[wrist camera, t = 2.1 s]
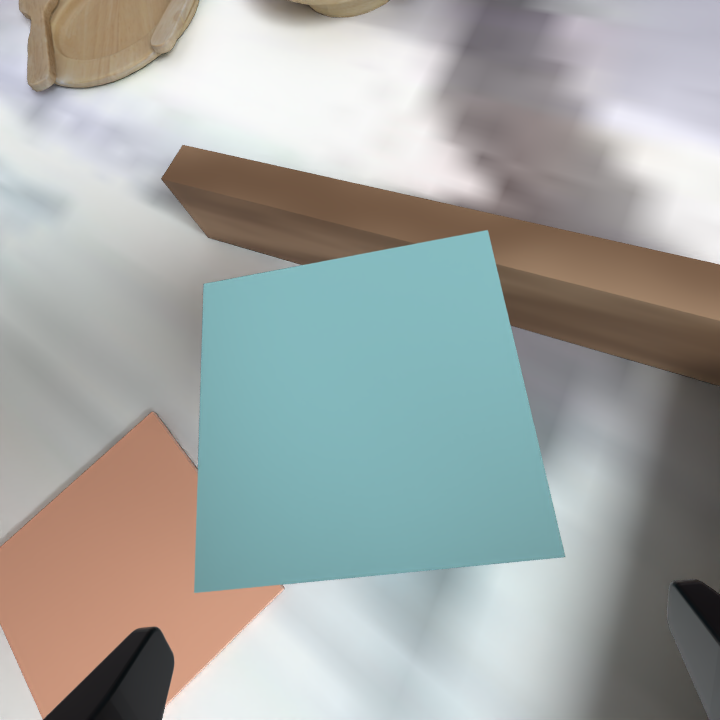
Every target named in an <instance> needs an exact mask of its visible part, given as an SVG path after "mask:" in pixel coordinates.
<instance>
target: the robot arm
mask: <svg viewBox="0 0 720 720" xmlns="http://www.w3.org/2000/svg"><path fill="white" fill-rule="evenodd" d="M667 621H668V625H669V628H670V631H671V633H672V636H673V638H674V640H675V643H676V645H677V647H678V649H679V652H680V654H681V656H682V659H683V661H684V663H685V666H686V668H687V670H688V672H689V675H690V677H691V679H692V682H693V684H694V686H695V689H696V691H697V693H698V695H699V698H700V700H701V702H702V705H703V707H704V709H705V712H706V714H707V716H708V718H709V720H720V594H719V593H717V592H716V591H714V590H713V589H712V588H710V587H709V586H707V585H706V584H705V583H703V582H701V581H699V580H696V579H690V580H678V581H673V582H671V583H670V585H669V593H668V606H667ZM174 663H175V662H174V654H173V652H172V650H171V648H170V646H169V644H168V642H167V640H166V639H165V637H164V635H163V633H162V631H161V630H160V629H159V628H158V627H142V628H138V629H135V630H134V631H133V632H131V633H130V634H129V635H128V636H127V637H126V638H125V639H124V640H123V641H122V642H121V643H120V644H119V645H118V646H117V647H116V648H115V649H114V650H113V651H112V652H111V653H110V654H109V655H108V656H107V657H106V658H105V659H104V660H103V661H102V662H101V663H100V664H99V665H98V666H97V667H96V668H95V669H94V670H93V671H92V672H91V673H90V674H89V675H88V676H87V677H86V678H85V679H84V680H83V681H82V682H81V683H79V684H78V685H77V686H76V687H75V688H74V689H73V690H72V691H71V692H70V693H69V694H68V695H67V696H66V697H65V698H64V699H63V700H62V701H61V702H60V703H59V704H58V705H57V706H56V707H55V708H54V709H53V710H52V711H51V712H50V713H49V714H48V715H47V716H46V717H45V718H44V719H43V720H162V718H163V713H164V709H165V705H166V701H167V696H168V692H169V688H170V683H171V679H172V675H173V671H174Z"/></svg>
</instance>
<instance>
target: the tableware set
mask: <svg viewBox="0 0 720 720" xmlns="http://www.w3.org/2000/svg"><path fill="white" fill-rule="evenodd" d="M288 1H292V2H297V3H301V4H308V5H309V6H310V7H311V8H312V9H313V10H314V11H316V12H318V13H320V14H322V15H326V16H329V17H352V16H357V15H361V14H365V13H368V12H370V11H372V10H375V9H377V8H378V7H380V6H382V5H384V4H386V3H387V2H388V1H389V0H288ZM198 3H199V0H19V10H20V11H21V12H22V13H23V15H24V16H25V17H26V18H28V19H30V20H31V29H30V34H29V38H28V63H27V80H28V84H29V85H30V87H31V88H32V89H33V90H35V91H37V92H38V91H43V90H45V89H48V88H49V87H50V86H52V85H53V84H57V85H60V86H65V87H73V88H86V87H93V86H98V85H103V84H106V83H110V82H114V81H116V80H119V79H121V78H124V77H126V76H128V75H130V74H131V73H133V72H135V71H137V70H139V69H141V68H143V67H144V66H145V65H147V64H148V63H150V62H151V61H153V60H154V59H155V58H157V57H158V56H160V55H161V54H163V53H167V52H169V51H170V50H171V49H172V48H173V47H174V45H175V43H176V41H177V39H178V38H179V37H180V36H181V35H182V33H183V32H184V31H185V29H186V28H187V27H188V25H189V23H190V22H191V20H192V18H193V17H194V15H195V12H196V10H197V6H198Z"/></svg>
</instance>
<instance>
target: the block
mask: <svg viewBox="0 0 720 720" xmlns="http://www.w3.org/2000/svg"><path fill="white" fill-rule="evenodd" d="M561 557H565V554H564V549H563V545H562V541H561V537H560V532H559V528H558V524H557V520H556V516H555V511H554V507H553V503H552V499H551V494H550V490H549V486H548V482H547V478H546V473H545V469H544V465H543V461H542V457H541V452H540V448H539V444H538V440H537V435H536V431H535V427H534V423H533V419H532V414H531V410H530V406H529V402H528V397H527V393H526V389H525V385H524V381H523V376H522V372H521V368H520V364H519V360H518V355H517V351H516V347H515V343H514V338H513V334H512V330H511V326H510V322H509V317H508V313H507V309H506V305H505V300H504V296H503V292H502V288H501V284H500V279H499V275H498V271H497V267H496V263H495V258H494V254H493V250H492V246H491V241H490V237H489V233H488V230H485V231H480V232H475V233H470V234H464V235H459V236H454V237H449V238H443V239H438V240H433V241H427V242H422V243H417V244H412V245H406V246H401V247H396V248H391V249H385V250H380V251H375V252H369V253H364V254H359V255H354V256H348V257H343V258H338V259H332V260H327V261H322V262H317V263H311V264H306V265H301V266H296V267H290V268H285V269H280V270H274V271H269V272H264V273H259V274H253V275H248V276H243V277H238V278H232V279H227V280H222V281H216V282H211V283H206V284H204V289H203V321H202V353H201V386H200V418H199V451H198V483H197V515H196V548H195V580H194V593H200V592H211V591H221V590H231V589H241V588H252V587H262V586H272V585H283V584H293V583H303V582H314V581H324V580H334V579H344V578H355V577H365V576H375V575H386V574H396V573H406V572H416V571H427V570H437V569H447V568H458V567H468V566H478V565H489V564H499V563H509V562H519V561H530V560H540V559H550V558H561Z"/></svg>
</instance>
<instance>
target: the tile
mask: <svg viewBox="0 0 720 720" xmlns="http://www.w3.org/2000/svg"><path fill="white" fill-rule="evenodd" d="M197 483H198V470H197V468H196V467H195V466H194V464H193V463H192V462H191V460H190V459H189V457H188V456H187V455H186V453H185V452H184V451H183V449H182V448H181V447H180V445H179V444H178V443H177V441H176V440H175V438H174V437H173V436H172V434H171V433H170V432H169V430H168V429H167V428H166V426H165V425H164V423H163V422H162V421H161V419H160V418H159V417H158V415H157V414H156V413H155V412H151V413H150V414H149V415H148V416H146V417H145V418H144V419H143V420H142V421H141V422H140V423H139V424H138V425H136V426H135V427H134V428H133V429H132V430H131V431H130V432H129V433H127V434H126V435H125V436H124V437H123V438H122V439H121V440H120V441H118V442H117V443H116V444H115V445H114V446H113V447H112V448H111V449H110V450H108V451H107V452H106V453H105V454H104V455H103V456H102V457H101V458H99V459H98V460H97V461H96V462H95V463H94V464H93V465H92V466H90V467H89V468H88V469H87V470H86V471H85V472H84V473H83V474H82V475H80V476H79V477H78V478H77V479H76V480H75V481H74V482H73V483H71V484H70V485H69V486H68V487H67V488H66V489H65V490H64V491H62V492H61V493H60V494H59V495H58V496H57V497H56V498H55V499H54V500H52V501H51V502H50V503H49V504H48V505H47V506H46V507H45V508H43V509H42V510H41V511H40V512H39V513H38V514H37V515H36V516H34V517H33V518H32V519H31V520H30V521H29V522H28V523H27V524H26V525H24V526H23V527H22V528H21V529H20V530H19V531H18V532H17V533H15V534H14V535H13V536H12V537H11V538H10V539H9V540H8V541H6V542H5V543H4V544H3V545H2V546H1V547H0V624H1V627H2V629H3V631H4V633H5V636H6V638H7V640H8V642H9V645H10V647H11V649H12V651H13V654H14V656H15V658H16V660H17V663H18V665H19V667H20V669H21V671H22V674H23V676H24V678H25V680H26V683H27V685H28V687H29V689H30V692H31V694H32V696H33V698H34V701H35V703H36V705H37V707H38V710H39V712H40V714H41V716H42V719H44V718H45V717H46V716H47V715H48V714H49V713H50V712H51V711H52V710H53V709H54V708H55V707H56V706H57V705H58V704H59V703H60V702H61V701H62V700H63V699H64V698H65V697H66V696H67V695H68V694H69V693H70V692H71V691H72V690H73V689H74V688H75V687H76V686H77V685H78V684H79V683H81V682H82V681H83V680H84V679H85V678H86V677H87V676H88V675H89V674H90V673H91V672H92V671H93V670H94V669H95V668H96V667H97V666H98V665H99V664H100V663H101V662H102V661H103V660H104V659H105V658H106V657H107V656H108V655H109V654H110V653H111V652H112V651H113V650H114V649H115V648H116V647H117V646H118V645H119V644H120V643H121V642H122V641H123V640H124V639H125V638H126V637H127V636H128V635H129V634H130V633H131V632H133V631H134V630H135V629H138V628H142V627H158V628H159V629H160V630H161V631H162V633H163V635H164V637H165V639H166V640H167V642H168V644H169V646H170V648H171V650H172V652H173V654H174V662H175V663H174V671H173V675H172V679H171V683H170V688H169V692H168V696H167V701H166V705H165V707H166V706H167V705H168V704H169V703H170V702H171V701H172V700H173V699H174V698H175V697H176V696H177V695H178V694H179V693H180V692H181V691H182V690H183V689H184V688H185V687H186V686H187V685H188V684H189V683H190V682H191V681H192V680H193V679H194V678H195V677H196V676H197V675H198V674H199V673H200V672H201V671H202V670H203V669H204V668H205V667H206V666H207V665H208V664H209V663H210V662H211V661H212V660H213V659H214V658H215V657H216V656H217V655H218V654H219V653H220V652H221V651H222V650H223V649H224V648H225V647H226V646H227V645H228V644H229V643H230V642H231V641H232V640H233V639H234V638H235V637H236V636H237V635H238V634H239V633H240V632H241V631H242V630H243V629H244V628H245V627H246V626H247V625H248V624H249V623H250V622H251V621H252V620H253V619H254V618H255V617H256V616H257V615H258V614H259V613H260V612H261V611H262V610H263V609H264V608H265V607H266V606H268V605H269V604H270V603H271V602H272V601H273V600H274V599H275V598H276V597H277V596H278V595H279V594H280V593H281V592H282V591H283V590H284V589H285V588H284V587H283V585H272V586H262V587H252V588H241V589H231V590H221V591H211V592H200V593H194V580H195V548H196V515H197Z"/></svg>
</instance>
